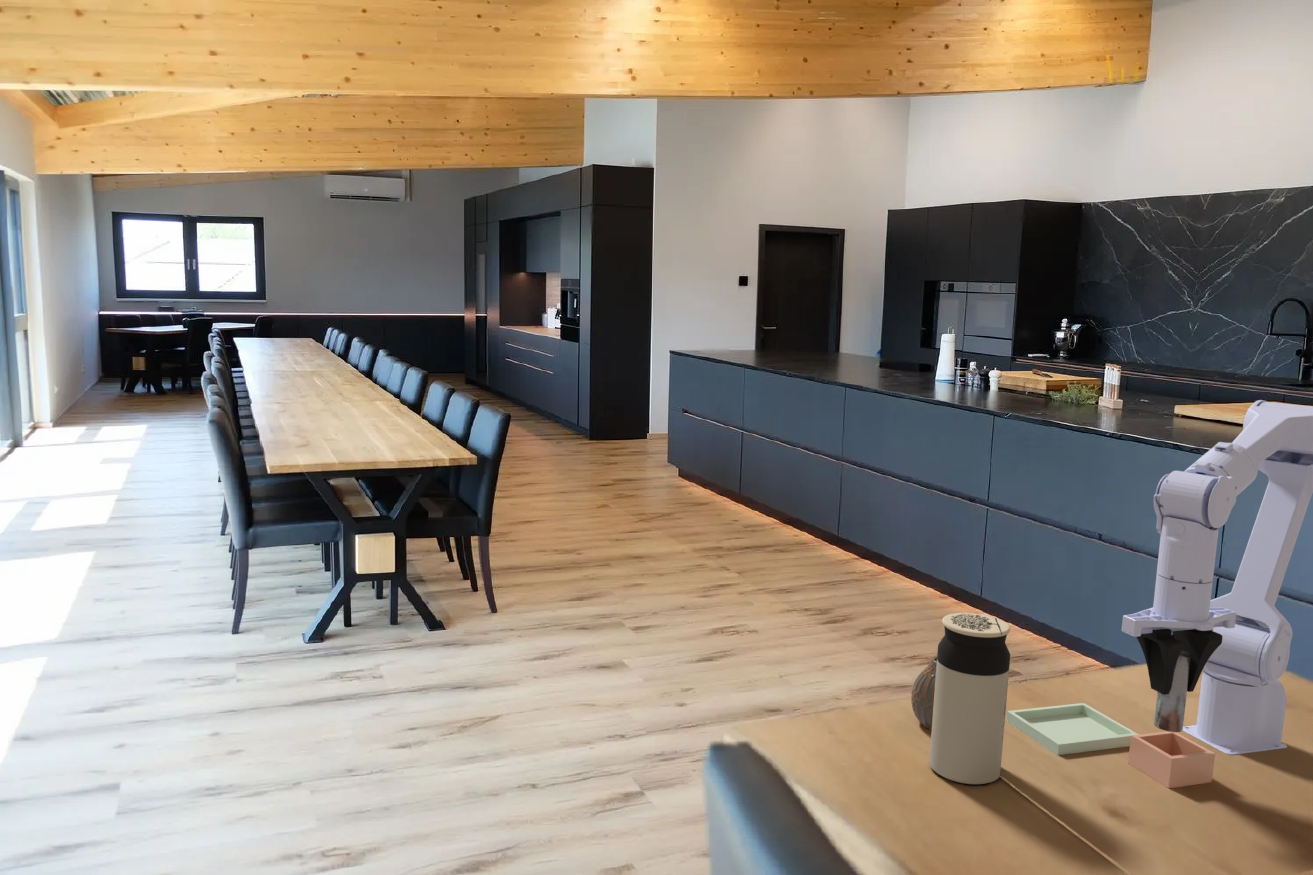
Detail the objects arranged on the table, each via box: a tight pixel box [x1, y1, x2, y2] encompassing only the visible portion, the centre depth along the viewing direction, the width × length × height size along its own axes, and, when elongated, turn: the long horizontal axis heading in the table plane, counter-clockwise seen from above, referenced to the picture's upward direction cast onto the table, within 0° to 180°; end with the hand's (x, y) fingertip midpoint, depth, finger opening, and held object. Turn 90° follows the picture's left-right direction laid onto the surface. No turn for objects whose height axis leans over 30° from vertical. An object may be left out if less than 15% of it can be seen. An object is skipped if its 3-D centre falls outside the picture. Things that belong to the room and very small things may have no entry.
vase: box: [911, 656, 937, 730], centre depth 129 cm, size 7×7×9 cm
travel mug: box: [928, 612, 1011, 786], centre depth 116 cm, size 8×8×18 cm
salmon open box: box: [1127, 730, 1216, 789], centre depth 117 cm, size 6×6×4 cm
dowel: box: [1153, 650, 1191, 733], centre depth 116 cm, size 3×3×9 cm
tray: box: [1005, 702, 1140, 756], centre depth 127 cm, size 12×10×2 cm
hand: (1171, 689), depth 116 cm, fingers closed on dowel, 3 cm apart
